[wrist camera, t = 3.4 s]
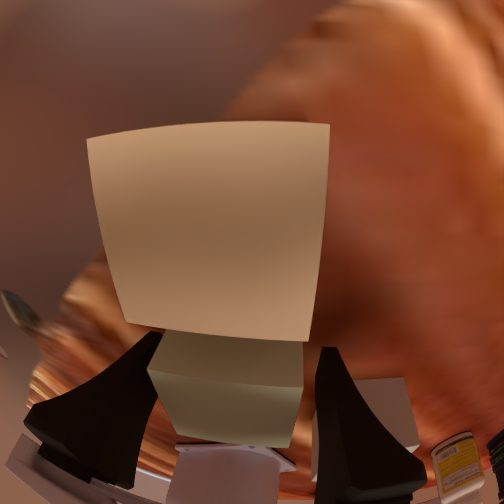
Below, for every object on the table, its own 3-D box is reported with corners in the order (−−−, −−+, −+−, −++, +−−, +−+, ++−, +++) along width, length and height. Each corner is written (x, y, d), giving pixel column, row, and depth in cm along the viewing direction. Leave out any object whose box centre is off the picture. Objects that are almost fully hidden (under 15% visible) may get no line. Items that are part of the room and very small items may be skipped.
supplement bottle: (459, 446, 20) (471, 508, 11) (423, 457, 21) (432, 524, 12) (480, 425, 18) (498, 494, 9) (442, 438, 18) (456, 515, 10)
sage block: (292, 366, 14) (288, 448, 10) (202, 359, 15) (177, 434, 10) (301, 293, 12) (303, 387, 8) (189, 285, 13) (146, 368, 8)
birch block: (302, 251, 11) (308, 341, 7) (181, 245, 12) (126, 322, 7) (308, 121, 9) (329, 124, 4) (171, 124, 9) (86, 138, 5)
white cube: (378, 416, 16) (386, 474, 12) (312, 419, 17) (311, 481, 12) (402, 375, 14) (420, 444, 10) (325, 379, 15) (328, 456, 10)
